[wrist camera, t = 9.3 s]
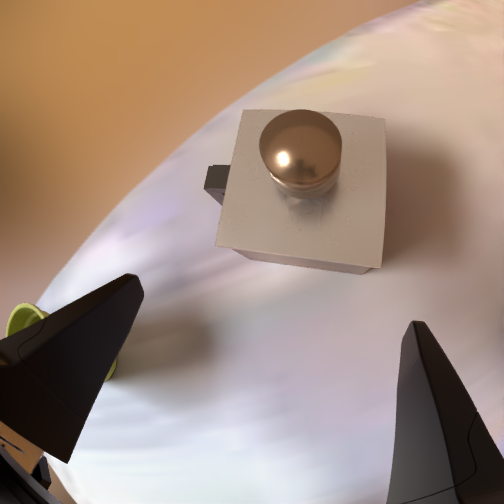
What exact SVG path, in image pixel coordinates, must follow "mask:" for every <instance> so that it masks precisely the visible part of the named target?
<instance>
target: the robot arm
mask: <svg viewBox="0 0 504 504" xmlns="http://www.w3.org/2000/svg"><path fill="white" fill-rule="evenodd" d="M143 298H144V291H143V288H142V285H141V283H140V280H139V277H138V276H137V275H134V274H130V273H127V274H124V275H123V276H121V277H119V278H117V279H115V280H113V281H111V282H109V283H107V284H105V285H103V286H102V287H100V288H98V289H96V290H94V291H92V292H90V293H88V294H87V295H85V296H83V297H81V298H79V299H77V300H75V301H74V302H72V303H70V304H68V305H66V306H64V307H63V308H61V309H59V310H57V311H55V312H54V313H52V314H50V315H48V317H47V316H46V317H45V318H43V319H41V320H39V321H37V322H36V323H34V324H32V325H30V326H28V327H26V328H24V329H22V330H20V331H18V332H16V333H14V334H12V335H10V336H8V337H6V338H4V339H2V340H0V504H62V503H61V502H60V501H59V500H57V499H56V498H55V497H54V496H53V495H52V494H50V493H49V492H48V491H47V490H48V488H49V486H50V484H51V478H50V474H49V469H48V464H47V458H46V457H45V456H44V455H43V453H44V452H47V453H48V454H50V455H52V456H53V457H55V458H57V459H59V460H61V461H62V462H64V463H66V464H68V462H69V460H70V458H71V455H72V453H73V450H74V448H75V445H76V443H77V441H78V438H79V436H80V434H81V431H82V429H83V427H84V424H85V422H86V420H87V417H88V415H89V413H90V411H91V409H92V406H93V404H94V402H95V400H96V398H97V396H98V394H99V391H100V389H101V387H102V385H103V383H104V381H105V379H106V377H107V375H108V373H109V371H110V369H111V367H112V365H113V363H114V361H115V359H116V357H117V355H118V353H119V351H120V349H121V347H122V345H123V344H124V342H125V340H126V338H127V336H128V334H129V332H130V329H131V327H132V325H133V322H134V320H135V317H136V315H137V313H138V310H139V308H140V306H141V303H142V301H143ZM386 504H504V458H503V456H502V455H501V453H500V451H499V450H498V448H497V446H496V444H495V443H494V441H493V439H492V437H491V436H490V434H489V432H488V430H487V428H486V426H485V424H484V422H483V420H482V418H481V416H480V414H479V412H477V409H476V407H475V405H474V403H473V401H472V399H471V397H470V396H469V394H468V392H467V390H466V388H465V387H464V385H463V383H462V381H461V379H460V378H459V376H458V374H457V373H456V371H455V369H454V367H453V366H452V364H451V362H450V361H449V359H448V358H447V356H446V354H445V353H444V351H443V349H442V348H441V346H440V345H439V343H438V342H437V340H436V338H435V337H434V335H433V334H432V332H431V331H430V329H429V328H428V326H427V325H426V323H425V322H423V321H411V323H410V324H409V326H408V329H407V331H406V333H405V335H404V337H403V339H402V344H401V356H400V367H399V376H398V385H397V407H396V428H395V442H394V453H393V463H392V471H391V478H390V485H389V492H388V498H387V503H386Z"/></svg>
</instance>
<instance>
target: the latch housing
mask: <svg viewBox="0 0 504 504" xmlns="http://www.w3.org/2000/svg"><path fill="white" fill-rule="evenodd" d="M288 111H292V110H243V113H242V117H241V121H240V126H239V130H238V135H237V139H236V144H235V148H234V153H233V157H232V162H231V165H213V166H209V167H208V172H207V176H206V180H205V185H204V190H205V191H206V192H208V193H209V194H210V195H211V196H212V197H213V198H214V199H215V200H216V201H217V202H219V203H220V204H221V205H222V211H221V216H220V221H219V226H218V231H217V237H216V242H215V246H217V247H223V248H231V249H232V250H234V251H236V252H238V253H240V254H241V255H243V256H245V257H247V258H249V259H251V260H257V261H264V262H271V263H279V264H286V265H293V266H300V267H307V268H315V269H322V270H329V271H337V272H344V273H351V274H359V275H361V274H363V273H364V272H365V271H367V270H368V269H370V268H371V267H372V268H381V263H382V253H383V241H384V228H385V210H386V128H385V119H381V118H374V117H367V116H359V115H350V114H340V113H329V112H318V113H320V114H322V115H324V116H326V117H327V118H329V119H330V120H331V121H332V122H333V123H334V124H335V125H336V127H337V128H338V130H339V132H340V135H341V139H342V154H341V167H340V174H339V178H338V180H337V182H336V183H335V185H334V186H333V187H332V188H331V189H330V190H329V191H328V192H327V193H325V194H323V195H321V196H319V197H316V198H312V199H297V198H293V197H290V196H288V195H286V194H284V193H283V192H281V191H280V190H279V189H278V188H277V187H276V185H275V184H274V183H273V181H272V179H271V177H270V174H269V172H268V170H267V168H266V166H265V164H264V162H263V160H262V157H261V155H260V150H259V140H260V136H261V134H262V131H263V130H264V128H265V127H266V125H267V124H268V123H269V122H270V121H271V120H272V119H274V118H275V117H277V116H278V115H280V114H282V113H285V112H288ZM315 112H316V111H315Z"/></svg>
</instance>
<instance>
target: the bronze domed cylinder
mask: <svg viewBox="0 0 504 504" xmlns="http://www.w3.org/2000/svg"><path fill="white" fill-rule="evenodd" d="M259 150H260V155H261V157H262V160H263V162H264V164H265V166H266V168H267V170H268V172H269V174H270V177H271V179H272V181H273V183H274V184H275V185H276V187H277V188H278V189H279V190H280V191H281V192H283V193H284V194H286V195H288V196H290V197H293V198H297V199H312V198H316V197H319V196H321V195H323V194H325V193H327V192H328V191H329V190H330V189H331V188H332V187H333V186H334V185H335V183H336V182H337V180H338V178H339V174H340V167H341V154H342V139H341V135H340V132H339V130H338V128H337V127H336V125H335V124H334V123H333V122H332V121H331V120H330V119H329V118H327V117H326V116H324V115H322V114H320V113H318V112H315V111H311V110H292V111H288V112H285V113H282V114H280V115H278V116H277V117H275V118H274V119H272V120H271V121H270V122H269V123H268V124H267V125H266V127H265V128H264V130H263V131H262V134H261V136H260V140H259Z"/></svg>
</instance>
